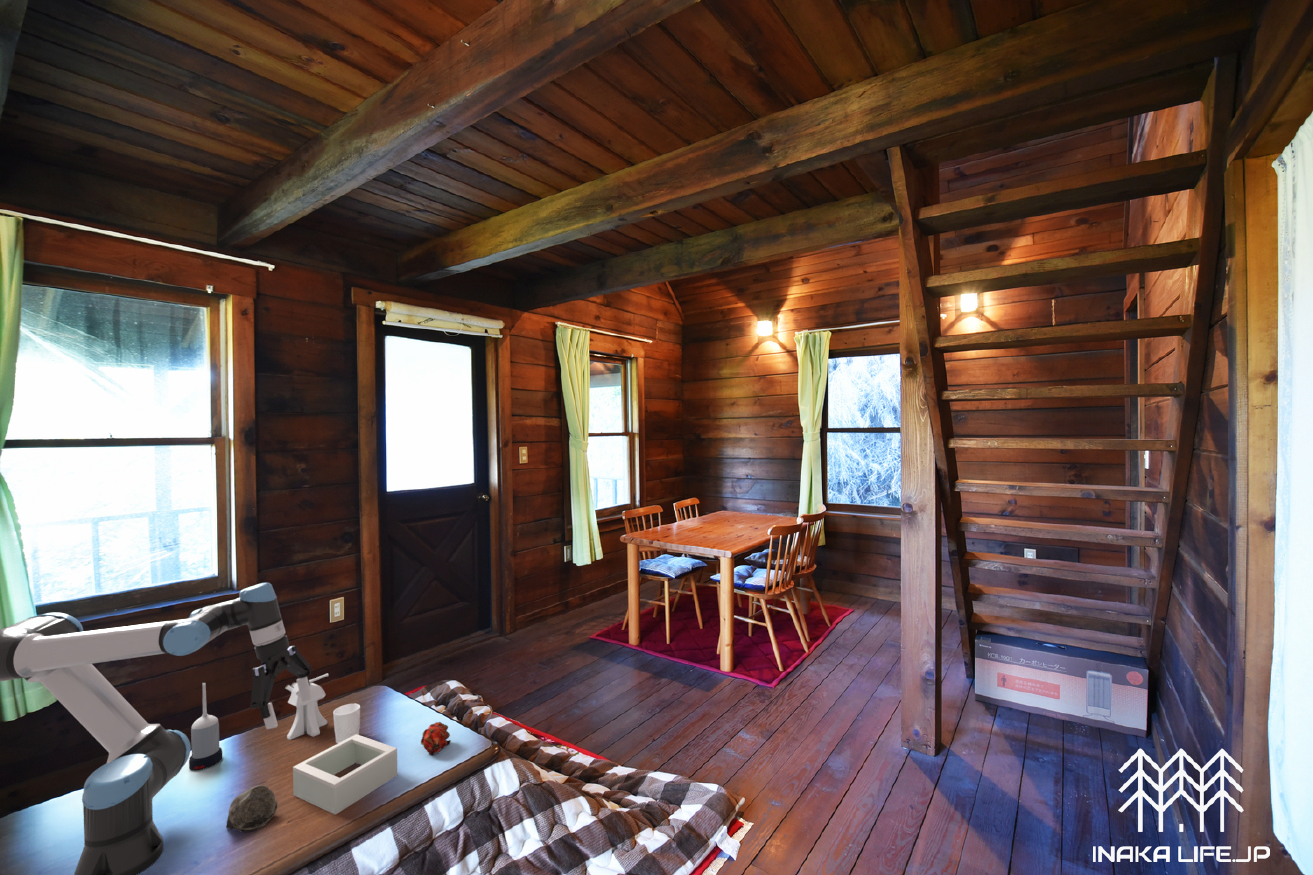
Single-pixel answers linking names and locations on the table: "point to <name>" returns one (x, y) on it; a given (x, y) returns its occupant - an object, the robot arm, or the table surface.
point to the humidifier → (205, 740)
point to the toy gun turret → (306, 710)
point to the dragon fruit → (435, 738)
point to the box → (339, 793)
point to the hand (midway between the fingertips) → (290, 713)
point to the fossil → (252, 809)
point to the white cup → (346, 721)
